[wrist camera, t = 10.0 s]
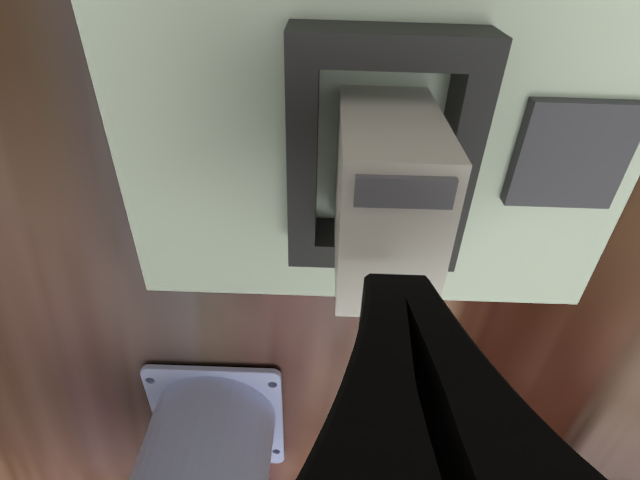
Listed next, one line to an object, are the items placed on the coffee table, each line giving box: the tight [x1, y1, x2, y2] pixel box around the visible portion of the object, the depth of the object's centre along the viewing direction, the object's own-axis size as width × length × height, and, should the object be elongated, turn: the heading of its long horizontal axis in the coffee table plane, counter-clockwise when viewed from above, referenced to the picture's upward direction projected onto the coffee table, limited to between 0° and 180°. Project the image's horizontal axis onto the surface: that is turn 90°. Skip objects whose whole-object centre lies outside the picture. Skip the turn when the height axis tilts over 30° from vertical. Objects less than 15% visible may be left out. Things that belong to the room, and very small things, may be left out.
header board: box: [71, 0, 640, 304], centre depth 16 cm, size 15×20×3 cm
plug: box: [334, 85, 472, 317], centre depth 14 cm, size 5×3×6 cm, turn 179°
